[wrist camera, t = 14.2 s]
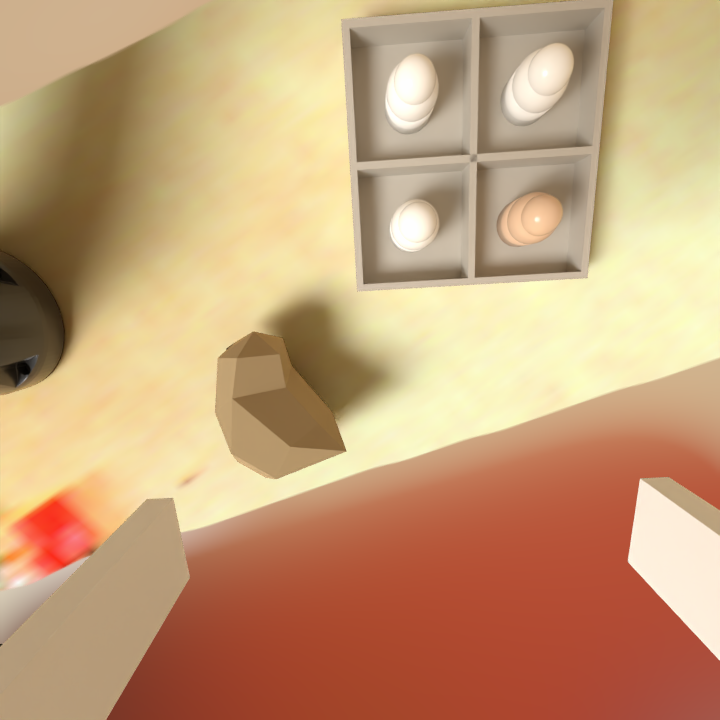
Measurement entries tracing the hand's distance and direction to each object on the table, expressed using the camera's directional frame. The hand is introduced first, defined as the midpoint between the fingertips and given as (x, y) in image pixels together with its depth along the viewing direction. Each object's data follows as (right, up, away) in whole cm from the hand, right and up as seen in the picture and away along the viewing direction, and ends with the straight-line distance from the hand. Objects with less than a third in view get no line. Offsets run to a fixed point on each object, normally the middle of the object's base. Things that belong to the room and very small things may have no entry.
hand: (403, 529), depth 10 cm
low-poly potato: (-9, +2, +27) cm, 29 cm away
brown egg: (+14, +18, +22) cm, 32 cm away
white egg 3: (+13, +28, +20) cm, 37 cm away
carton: (+8, +23, +22) cm, 33 cm away
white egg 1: (+3, +27, +20) cm, 34 cm away
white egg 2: (+4, +17, +23) cm, 29 cm away
